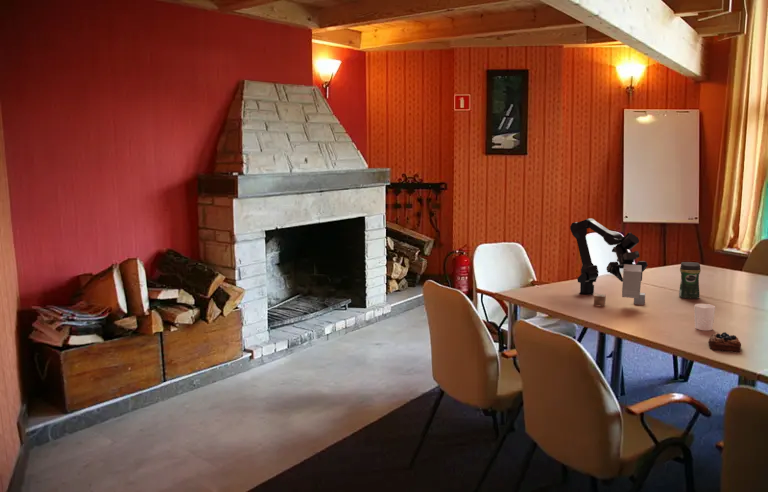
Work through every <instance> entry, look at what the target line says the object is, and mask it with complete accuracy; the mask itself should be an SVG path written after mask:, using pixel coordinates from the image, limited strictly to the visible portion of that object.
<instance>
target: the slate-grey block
mask: <svg viewBox="0 0 768 492" xmlns="http://www.w3.org/2000/svg"><path fill="white" fill-rule="evenodd" d="M645 303H646V293H645V292H640V298H633V305H640V306H641V305H645Z"/></svg>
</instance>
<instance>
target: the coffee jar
mask: <svg viewBox="0 0 768 492" xmlns="http://www.w3.org/2000/svg"><path fill="white" fill-rule="evenodd" d="M679 271H680V285H679V291H678V296H679V298H682V299H688V300H690V299H691V300H693V299H695V300H696V299H699V298H700V296H701V295H700V294H701V293H700V282H699V281H700V280H699V279H700V278H699V277H700V274H701V271H702V270H701V265H700V263H699V262H693V261H682V262H680V268H679Z"/></svg>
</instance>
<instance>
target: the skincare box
mask: <svg viewBox="0 0 768 492" xmlns="http://www.w3.org/2000/svg"><path fill="white" fill-rule="evenodd" d="M641 274H642V275H643V273H642V265H629V264H624V268H623V271H622V278H623V282H622V285H621V286H622V289H621V297H622V298H631V299H634V298H640V293H641V285H642V284H641V283H642V281H641Z"/></svg>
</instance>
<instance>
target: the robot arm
mask: <svg viewBox="0 0 768 492" xmlns="http://www.w3.org/2000/svg"><path fill="white" fill-rule="evenodd" d="M569 229H570V232H571V235H572V236H573V237H574V238H575V239H576V244H577V248H578V251H579V256H580V259H581V264H582V265H581V269H580V273H581V274H580V275H579V276H578V277H577V283H579V284H580V288H579V289H580V290H579V294H580V293H581V294H580V295H588V294H591V295H590V296H592V295H594V293H595V284H594V283H596V282H597V279H598V277H599V273H600V272H599V268H598V265H597V264H595V265H594V263H593V262H592V258H591V254H590V249H589V245H588V241H587V234H588V229H590V230H592V231H593V232H595V233H596V234H597V235H599V236H600V237H602V238H603V240H604V242H605V243H606V244H607V245H609V246H613V247H612V249H611V252H612V253H615V256H616V258H617V259H616V261H610V262H608V265H607V267H606V272H607V273H609V274H612V275H613V276H614V277H616V278H617V280H619V281H620V282H622V283H623V274H622V273H621V270H620V269H624V264H629V265H642V274H641V282H642V281H643V272H644V271H646V269H647V267H648V265H649V264H648V262H647V261H646V260H639V261H637V263H635V260H637V259H638V258H640V253H639V251H638V250H634V251H630V250H632V249H633V248H634V247H636V246H637V245H638V244H639V243H640V238H639V237H637V236H636V235H635V234H633V233H632V232H628V233H626V234H625V236H623V235H622V234H621V233H619V232H617V231H613V230H609V229H608V228H607V227H605V226H604V225H602V224H601V223H599V222H598V221H596V219H594V218H586V219H584V220H580V221H576V222H575V221H574V222H571V224H570V226H569ZM628 250H629V251H628Z"/></svg>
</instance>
